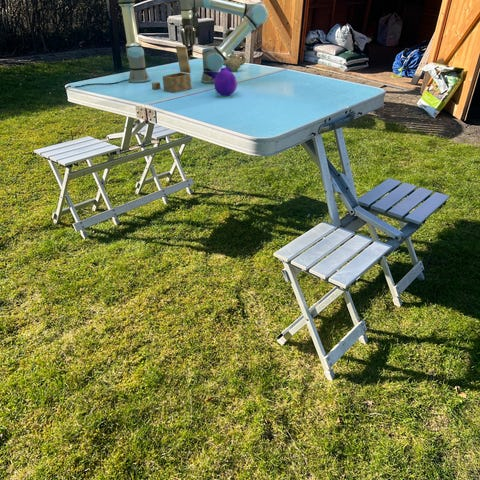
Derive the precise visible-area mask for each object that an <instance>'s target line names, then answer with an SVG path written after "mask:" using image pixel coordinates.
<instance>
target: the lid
mask: <svg viewBox="0 0 480 480" xmlns="http://www.w3.org/2000/svg"><path fill="white" fill-rule="evenodd" d="M188 50H193V51H194V46H193V47H190V48H189V49H187V47H186V46H180V45H175V51H176V55H177V61H178V67H179V73H186V74H191V73H192V71H191V66H190V59H189V56H188V53H187V51H188Z"/></svg>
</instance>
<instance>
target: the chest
mask: <svg viewBox="0 0 480 480" xmlns="http://www.w3.org/2000/svg"><path fill="white" fill-rule="evenodd" d="M162 85H163V91H164V92H168V93H179V92H183V91H188V90H191V89H192V78H191V73H185V72H176V73H171V74H165V75H162Z"/></svg>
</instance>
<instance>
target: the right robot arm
mask: <svg viewBox="0 0 480 480" xmlns="http://www.w3.org/2000/svg"><path fill="white" fill-rule="evenodd" d="M179 2H180V4H179V5H180V17H181V25H182V26H181V27H182V28H181V29H179V33H180V37H181V42H182V45H183V47H187V49H189V48H190V47H193V48H194V46H195V45H196V38H195V36H196V28H193V18H192V17H193V13H192V8H195V7H199V8H204V9H207V10H212V11H216V12H221V13H225V14H230V15H234V16H238V17H240V19H243V20H242V21H241V22H240V23H239V24H238V25H237V26H236V27H235V28H234V29H233V30H232V31H231V32H230V34H228V36H227V37H226V38H225V39H223V41H222V42H221V43H220V44H219V45H215V46H214V47H213V48H211V47H210V48H209V47H208V48H202V49H201V50H202V51H201V55H202V69H203V70H202V76H201V78H200V79H201V81H200V82H201V83H203V84H210V85H211V84H214V81H215V79H214V78H212V77H210V76H208V75H206V74H205V73H203V72H206V71H210V72H220V70H221V69H222V68H223V66H224V65H223V63H224V62H225V61H226V60H227V58H228V56H230V55H231V52H233V51H234V50H235V48H237V47H238V45H239V44H240V43H241V42H243V40H244V39H245V38H246V37H247V36H248V35H249V34H250V33H251V32H252V31H256V30H257V29H258V28H259V27H260V26H262V25H263V24H265V23H266V22H267V20H268V17H269V14H268V9H267V8H266V7H265V6H264V5H262V4H258V3H247V2H243V3H239V2H235V1H231V0H179ZM193 52H194V49H193V50H188V51H187V53H188V57H193V56H194V53H193Z"/></svg>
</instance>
